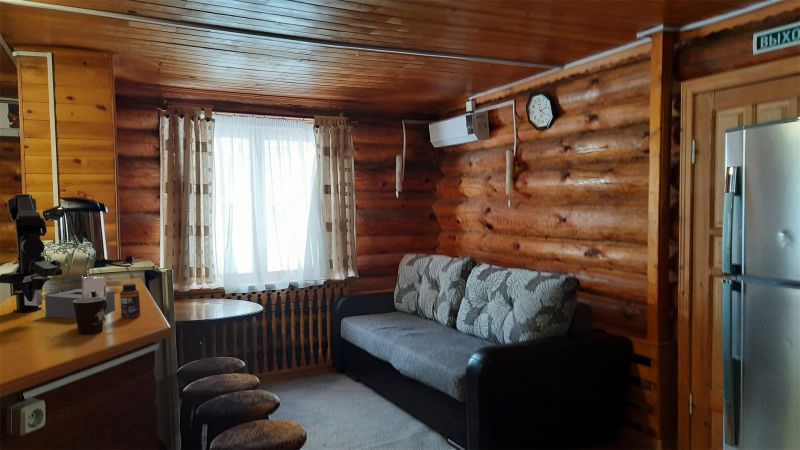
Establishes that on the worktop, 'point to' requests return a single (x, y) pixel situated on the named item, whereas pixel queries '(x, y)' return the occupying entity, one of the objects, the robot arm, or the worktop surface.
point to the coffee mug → (90, 314)
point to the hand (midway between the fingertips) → (33, 300)
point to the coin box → (71, 303)
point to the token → (35, 298)
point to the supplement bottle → (130, 301)
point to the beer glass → (94, 288)
